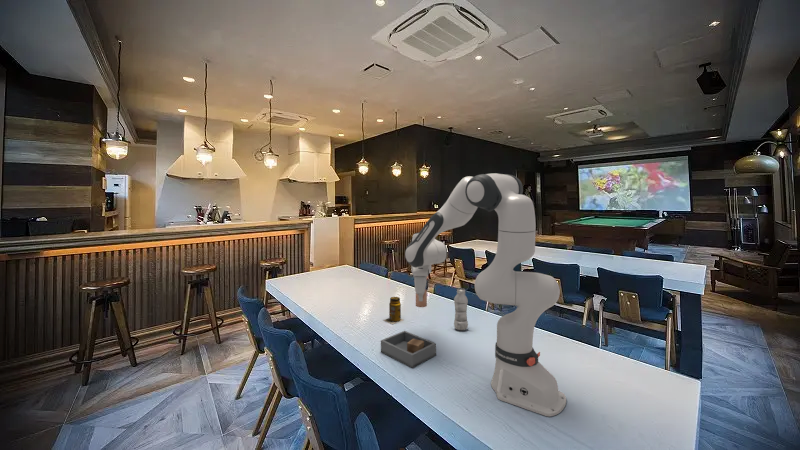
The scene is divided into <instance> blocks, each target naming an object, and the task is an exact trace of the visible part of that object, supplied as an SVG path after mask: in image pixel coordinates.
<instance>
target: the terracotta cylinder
mask: <svg viewBox="0 0 800 450" xmlns="http://www.w3.org/2000/svg"><path fill="white" fill-rule="evenodd" d="M427 306H428V290H427V289H426V288H425V293H424V294H423V301H419V296H418V294H416V293H415V307H416V308H426V307H427Z"/></svg>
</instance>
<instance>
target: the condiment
mask: <svg viewBox="0 0 800 450" xmlns="http://www.w3.org/2000/svg"><path fill="white" fill-rule="evenodd" d="M389 300H390V301H389V307H388V308H389V310H388V311H389V313H388V314H389V315H388V316H389V318H386V319H383V321H384V322H387V323H388V324H390V325H391V324H392V325H394V324H397V323H400V322H403V321H404V319H403V318H402V312H401V311H402V310H401V309H402V307H401V305H402V304H401V298H400V297H399V296H392V297H390V299H389Z"/></svg>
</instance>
